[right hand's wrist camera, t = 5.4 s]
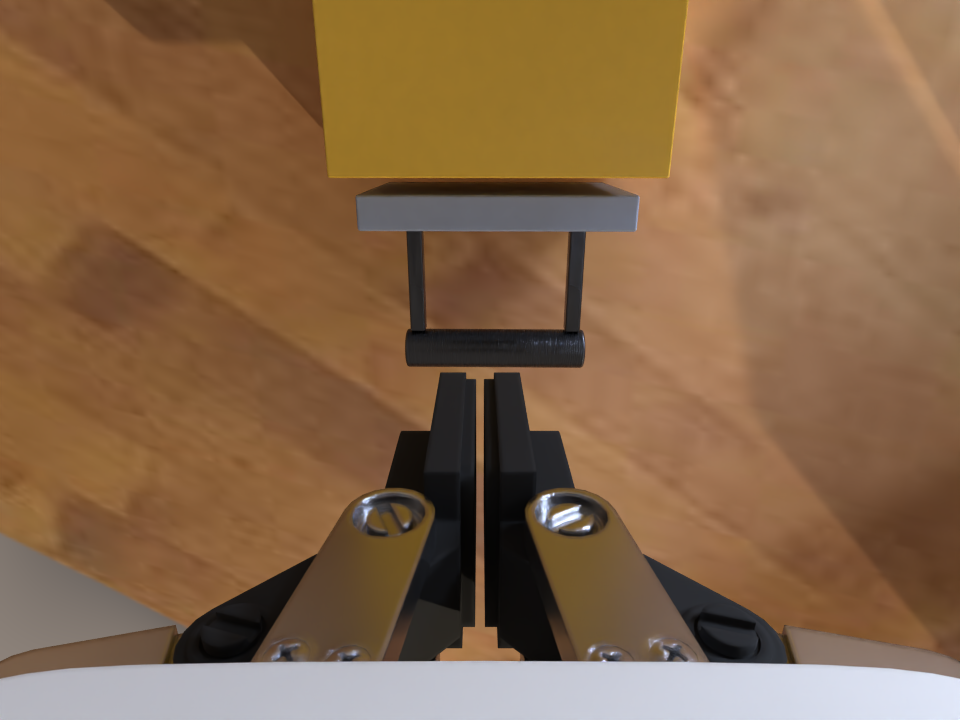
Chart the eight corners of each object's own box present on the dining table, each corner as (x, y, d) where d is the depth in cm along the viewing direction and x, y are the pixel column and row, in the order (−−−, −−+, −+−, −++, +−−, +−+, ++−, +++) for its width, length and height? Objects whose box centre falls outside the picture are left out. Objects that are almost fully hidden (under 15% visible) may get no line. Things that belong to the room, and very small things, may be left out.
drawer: (592, 337, 28) (621, 393, 22) (396, 336, 28) (369, 391, 22) (641, -348, 19) (713, -580, 13) (359, -345, 20) (298, -571, 13)
